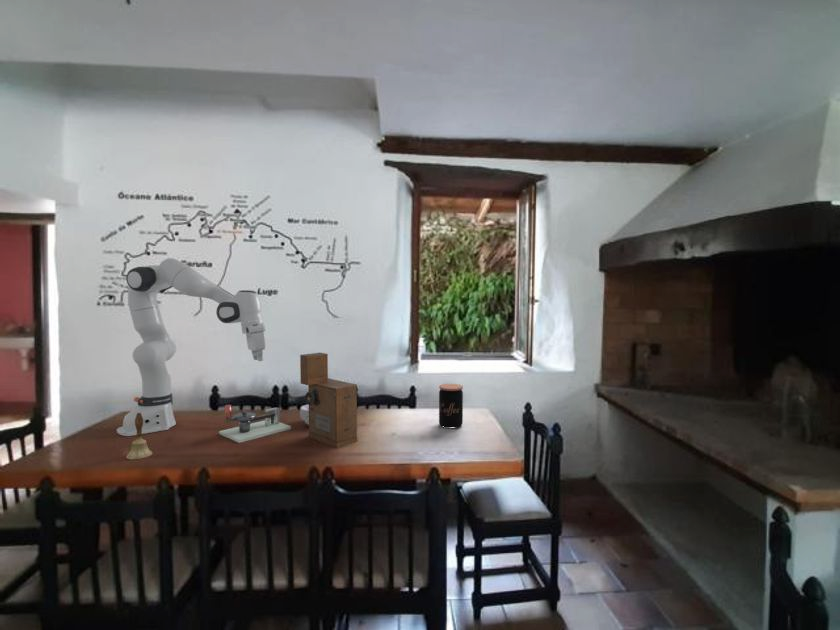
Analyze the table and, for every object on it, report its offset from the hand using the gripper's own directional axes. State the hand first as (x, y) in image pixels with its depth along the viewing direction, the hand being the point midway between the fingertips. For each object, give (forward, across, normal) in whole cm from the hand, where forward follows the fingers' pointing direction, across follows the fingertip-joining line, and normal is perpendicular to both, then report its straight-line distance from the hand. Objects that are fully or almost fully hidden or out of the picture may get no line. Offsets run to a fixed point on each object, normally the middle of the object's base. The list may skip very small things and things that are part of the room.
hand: (258, 360), depth 191 cm
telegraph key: (+29, -6, -6) cm, 30 cm away
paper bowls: (+34, -6, +22) cm, 41 cm away
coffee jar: (+43, +27, +73) cm, 89 cm away
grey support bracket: (+30, -10, +3) cm, 32 cm away
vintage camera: (+36, +18, +20) cm, 45 cm away
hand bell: (+27, +1, -47) cm, 54 cm away
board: (+31, -7, -4) cm, 32 cm away
